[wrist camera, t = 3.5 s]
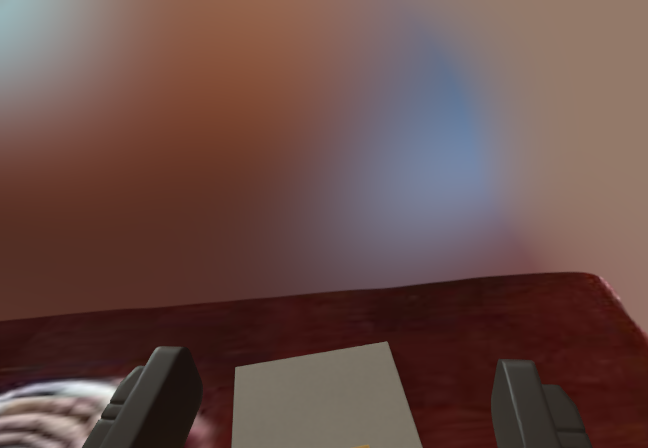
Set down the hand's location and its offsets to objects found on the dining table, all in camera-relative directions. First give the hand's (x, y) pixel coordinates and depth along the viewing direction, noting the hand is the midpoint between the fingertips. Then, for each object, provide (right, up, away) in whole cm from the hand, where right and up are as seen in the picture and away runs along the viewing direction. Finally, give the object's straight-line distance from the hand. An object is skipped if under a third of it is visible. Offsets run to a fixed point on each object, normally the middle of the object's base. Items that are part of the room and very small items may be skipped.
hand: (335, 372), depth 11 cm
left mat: (-1, -13, +30) cm, 32 cm away
